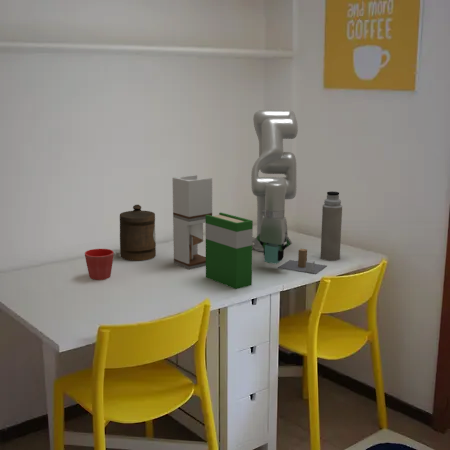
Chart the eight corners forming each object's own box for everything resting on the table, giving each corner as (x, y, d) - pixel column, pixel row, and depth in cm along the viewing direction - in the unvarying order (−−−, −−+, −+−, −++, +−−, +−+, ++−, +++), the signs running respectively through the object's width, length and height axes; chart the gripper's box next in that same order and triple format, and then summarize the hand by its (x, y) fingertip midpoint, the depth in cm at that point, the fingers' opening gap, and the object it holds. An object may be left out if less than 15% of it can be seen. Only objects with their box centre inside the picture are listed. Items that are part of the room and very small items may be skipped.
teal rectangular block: (264, 261, 245) (264, 245, 243) (270, 258, 249) (270, 242, 247) (276, 264, 242) (277, 247, 240) (282, 260, 246) (282, 244, 245)
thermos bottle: (320, 255, 267) (322, 190, 261) (339, 255, 266) (342, 190, 260) (320, 260, 259) (323, 193, 253) (340, 260, 259) (343, 193, 252)
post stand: (277, 268, 249) (278, 250, 247) (289, 260, 259) (290, 243, 257) (315, 274, 241) (316, 256, 239) (326, 266, 251) (327, 249, 250)
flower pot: (120, 275, 239) (119, 250, 236) (101, 283, 229) (100, 257, 227) (99, 271, 244) (98, 246, 242) (79, 278, 235) (78, 253, 232)
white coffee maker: (189, 269, 246) (188, 181, 238) (173, 263, 254) (172, 177, 246) (212, 264, 253) (212, 178, 245) (196, 258, 261) (195, 174, 253)
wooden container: (163, 255, 265) (162, 204, 260) (136, 263, 254) (134, 210, 249) (140, 249, 275) (138, 200, 270) (113, 256, 264) (111, 205, 259)
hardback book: (205, 277, 237) (205, 215, 231) (220, 273, 241) (221, 212, 236) (236, 289, 224) (236, 223, 218) (251, 285, 228) (252, 220, 223)
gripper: (250, 213, 241) (249, 257, 246) (291, 219, 233) (289, 265, 238) (259, 208, 248) (258, 252, 252) (299, 214, 239) (297, 259, 244)
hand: (273, 258), depth 245 cm, fingers closed on teal rectangular block, 5 cm apart
